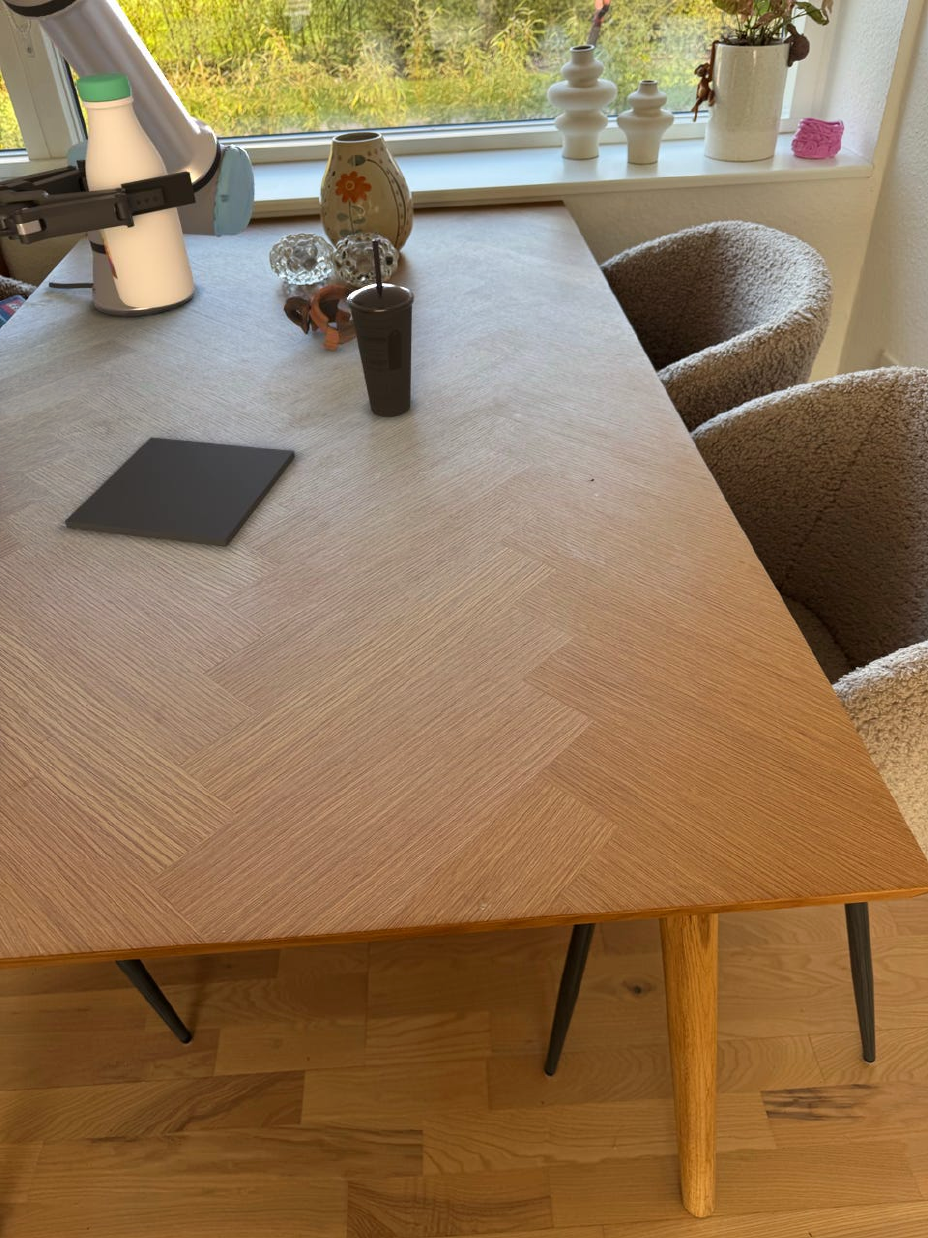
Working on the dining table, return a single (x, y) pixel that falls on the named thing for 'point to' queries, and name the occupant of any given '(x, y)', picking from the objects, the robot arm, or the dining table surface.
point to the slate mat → (183, 491)
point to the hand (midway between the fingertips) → (174, 178)
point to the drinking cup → (384, 341)
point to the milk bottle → (120, 154)
